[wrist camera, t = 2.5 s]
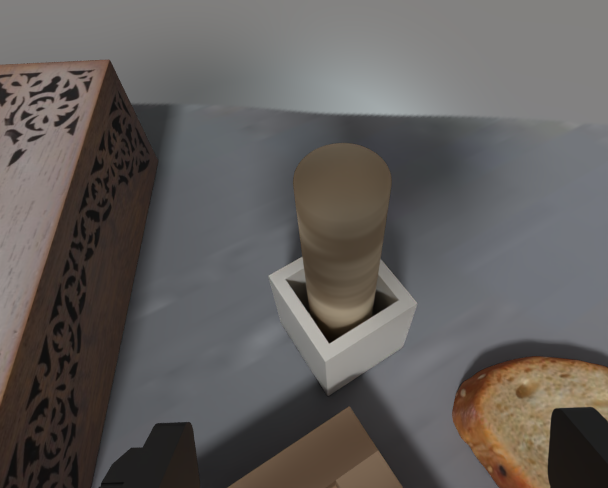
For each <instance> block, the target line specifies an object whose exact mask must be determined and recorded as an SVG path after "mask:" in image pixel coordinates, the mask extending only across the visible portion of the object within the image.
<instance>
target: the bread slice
mask: <svg viewBox="0 0 608 488" xmlns="http://www.w3.org/2000/svg"><path fill="white" fill-rule="evenodd" d="M573 407H593V408H595V409H596V410H597V411H598V412H599V413H600V414H601V415H602V416H603V417H604V418H605V419H606V420H607V421H608V367H605V366H602V365H598V364H593V363H588V362H584V361H580V360H573V359H563V358H553V357H542V356H532V357H525V358H519V359H514V360H510V361H506V362H503V363H499V364H496V365H494V366H491V367H488V368H485V369H483V370H481V371H479V372H478V373H476V374H475V375H474V376H472V377H471V378H470V379H468V380H466V381H464V382H463V383H462V384H461V386H460V388H459V390H458V391H457V393H456V396H455V401H454V406H453V412H452V417H453V422H454V424H455V427H456V429H457V430H458V432H459V434H460V436H461V438H462V439H463V440H464V441H465V442H466V443H467V444H468V445H469V446H470V448H471V449H472V451H473V453H474V454H475V456H476V457H477V459H478V460H479V461H480V463H481V464H482V465H483V466H484V467H485V469H486V470H487V471H488V473H489V474H490V475H491V477H492V478H493V480H494V481H495V483H496V484H497V486H498V487H499V488H550V484H549V480H548V453H549V439H550V424H551V415H552V412H553V410H554V409H556V408H573Z"/></svg>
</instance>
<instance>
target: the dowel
mask: <svg viewBox="0 0 608 488" xmlns="http://www.w3.org/2000/svg"><path fill="white" fill-rule="evenodd" d="M391 183H392V180H391V174H390V171H389V168H388V166H387V165H386V163H385V162H384V160H383V159H382V158H381V157H380V156H379V155H378V154H376V153H375V152H373V151H372V150H370V149H368V148H366V147H363V146H360V145H356V144H351V143H335V144H329V145H325V146H322V147H320V148H318V149H315V150H314V151H312V152H310V153H309V154H308V155H306V156H305V157H304V158H303V159H302V160H301V162H300V163H299V165H298V166H297V168H296V170H295V173H294V177H293V187H294V195H295V203H296V210H297V218H298V226H299V234H300V241H301V249H302V257H303V265H304V273H305V280H306V288H307V296H308V304H309V311H310V316H311V318H312V319H313V321H314V322H315V324H316V325H317V327H318V328H319V329H320V331H321V332H322V334H323V335H324V337H325V338H326V340H327V341H328V343H329V344H330V343H331V342H333V341H335V340H336V339H338V338H339V337H341V336H343V335H344V334H346V333H347V332H349V331H351V330H352V329H354V328H355V327H357V326H359V325H360V324H362V323H363V322H365V321H367V320H368V319H370V318H371V317H372V312H373V305H374V299H375V292H376V285H377V279H378V272H379V265H380V258H381V252H382V245H383V238H384V232H385V225H386V218H387V211H388V205H389V198H390V191H391Z"/></svg>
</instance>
